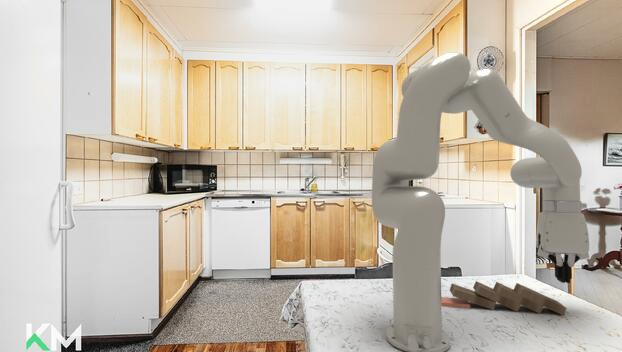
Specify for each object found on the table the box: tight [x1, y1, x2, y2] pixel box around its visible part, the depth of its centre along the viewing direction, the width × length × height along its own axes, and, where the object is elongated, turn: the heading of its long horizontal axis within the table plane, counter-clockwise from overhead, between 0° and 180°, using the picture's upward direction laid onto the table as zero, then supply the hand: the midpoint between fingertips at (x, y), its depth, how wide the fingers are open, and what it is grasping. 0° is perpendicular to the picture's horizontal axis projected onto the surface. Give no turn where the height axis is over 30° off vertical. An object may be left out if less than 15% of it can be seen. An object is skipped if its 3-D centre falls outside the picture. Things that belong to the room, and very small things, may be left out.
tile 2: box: [492, 281, 545, 314], centre depth 85 cm, size 5×2×10 cm
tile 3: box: [472, 280, 522, 313], centre depth 87 cm, size 5×2×10 cm
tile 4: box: [449, 283, 497, 311], centre depth 88 cm, size 5×2×10 cm
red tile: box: [441, 296, 471, 309], centre depth 90 cm, size 5×2×10 cm
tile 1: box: [513, 282, 568, 316], centre depth 84 cm, size 5×2×10 cm
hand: (563, 281), depth 83 cm, fingers closed
